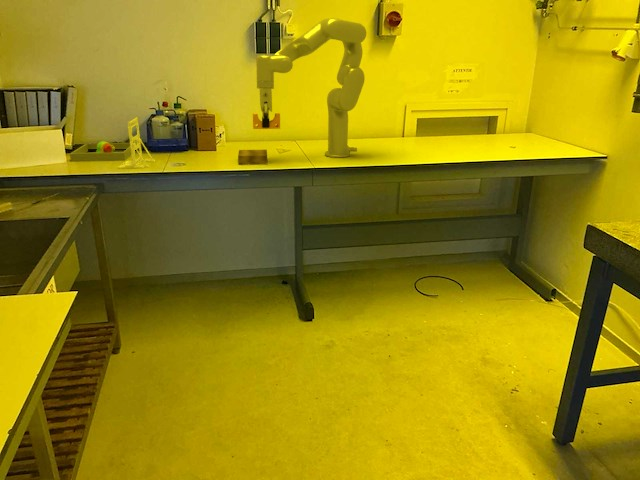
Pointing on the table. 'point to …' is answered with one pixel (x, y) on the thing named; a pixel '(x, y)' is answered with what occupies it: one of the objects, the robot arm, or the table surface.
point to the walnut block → (252, 157)
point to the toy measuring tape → (105, 147)
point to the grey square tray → (83, 156)
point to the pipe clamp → (271, 123)
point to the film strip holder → (135, 147)
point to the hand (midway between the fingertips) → (265, 126)
